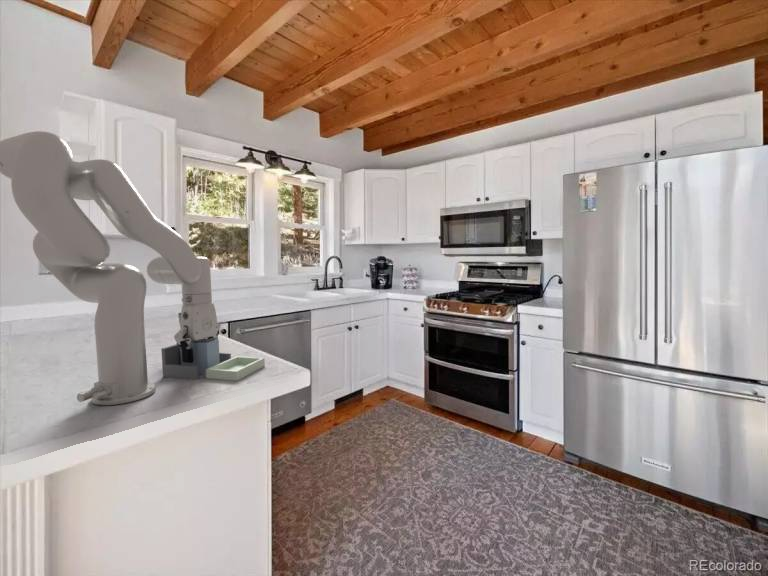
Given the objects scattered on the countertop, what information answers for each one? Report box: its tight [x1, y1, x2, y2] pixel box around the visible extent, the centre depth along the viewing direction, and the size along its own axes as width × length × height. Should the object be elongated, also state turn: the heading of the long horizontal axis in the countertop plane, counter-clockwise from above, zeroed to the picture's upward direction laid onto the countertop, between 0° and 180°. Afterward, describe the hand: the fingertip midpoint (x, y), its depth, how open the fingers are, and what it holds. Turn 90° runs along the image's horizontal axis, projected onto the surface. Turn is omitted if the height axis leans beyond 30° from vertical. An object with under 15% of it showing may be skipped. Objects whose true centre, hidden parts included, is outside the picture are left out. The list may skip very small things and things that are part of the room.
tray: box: [205, 355, 266, 382], centre depth 106 cm, size 14×10×2 cm
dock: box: [161, 343, 232, 380], centre depth 107 cm, size 15×11×8 cm
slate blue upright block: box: [180, 338, 220, 375], centre depth 107 cm, size 5×9×10 cm, turn 77°
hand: (200, 357), depth 107 cm, fingers open, 9 cm apart
